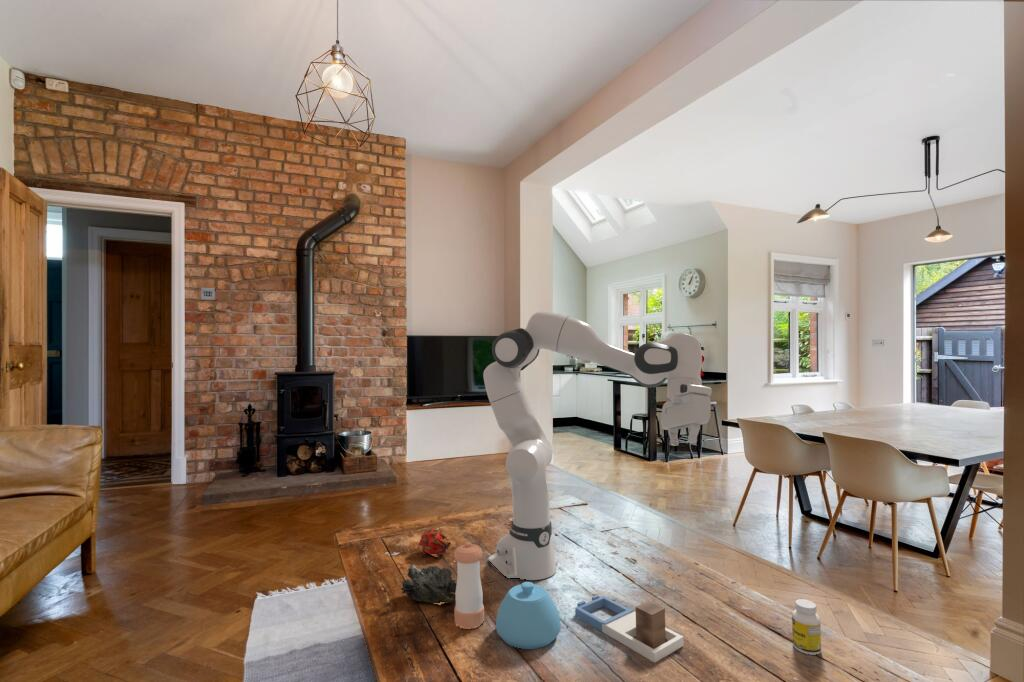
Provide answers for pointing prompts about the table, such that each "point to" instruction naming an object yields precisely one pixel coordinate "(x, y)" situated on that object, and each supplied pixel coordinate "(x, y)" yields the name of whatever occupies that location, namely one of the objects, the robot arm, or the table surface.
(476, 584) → the pepper shaker
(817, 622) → the supplement bottle
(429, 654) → the table surface
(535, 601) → the sugar bowl
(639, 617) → the walnut block
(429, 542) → the dragon fruit
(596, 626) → the two-window frame tray
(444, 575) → the mineral specimen
